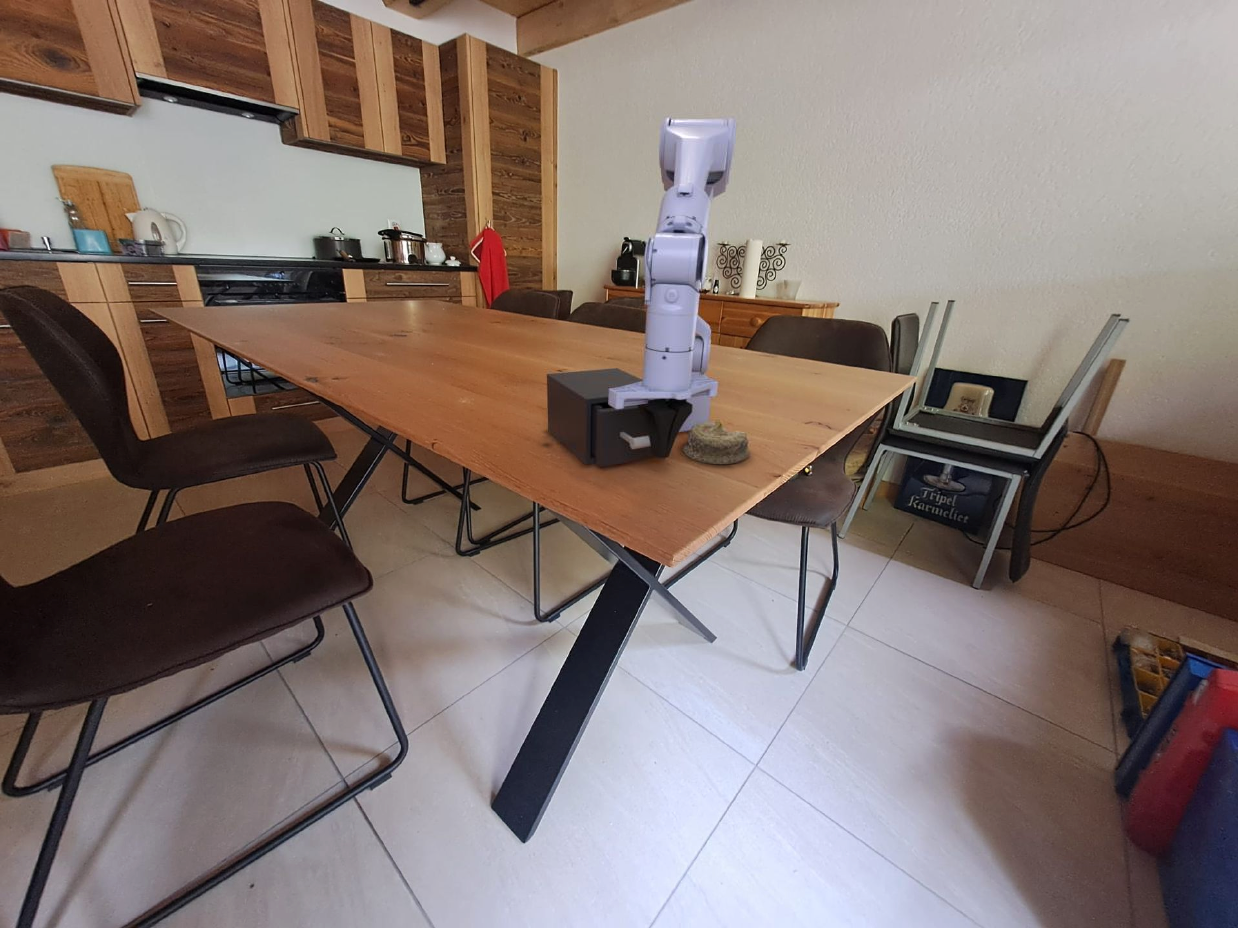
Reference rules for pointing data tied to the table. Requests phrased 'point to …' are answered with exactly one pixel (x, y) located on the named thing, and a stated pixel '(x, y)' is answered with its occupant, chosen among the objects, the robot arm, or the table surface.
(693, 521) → the table surface
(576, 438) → the cabinet
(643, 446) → the drawer
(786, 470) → the table surface
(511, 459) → the table surface
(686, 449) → the beige textured round mound
